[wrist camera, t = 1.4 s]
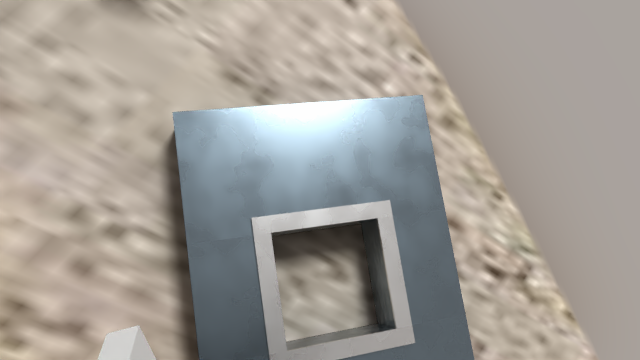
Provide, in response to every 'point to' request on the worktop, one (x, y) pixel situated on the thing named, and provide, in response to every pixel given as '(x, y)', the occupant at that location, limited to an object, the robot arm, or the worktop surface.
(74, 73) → the worktop surface
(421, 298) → the plate
